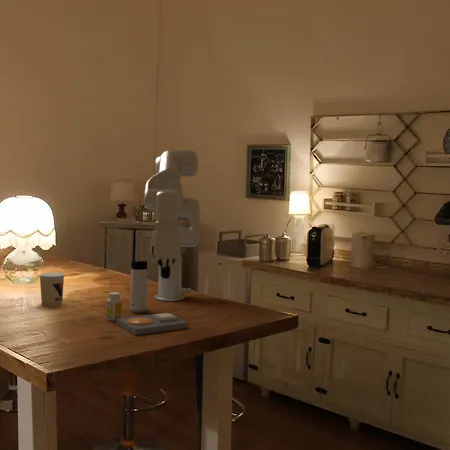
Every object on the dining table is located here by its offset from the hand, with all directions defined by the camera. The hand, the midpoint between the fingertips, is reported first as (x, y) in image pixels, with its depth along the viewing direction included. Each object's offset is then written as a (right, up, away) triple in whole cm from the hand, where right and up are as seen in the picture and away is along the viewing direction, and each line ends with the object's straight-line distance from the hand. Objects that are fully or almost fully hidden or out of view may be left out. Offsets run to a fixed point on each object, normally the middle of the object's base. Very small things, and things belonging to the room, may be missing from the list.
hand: (165, 277), depth 230 cm
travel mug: (-12, -15, +20) cm, 28 cm away
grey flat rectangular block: (-5, -17, -1) cm, 18 cm away
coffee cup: (-47, -13, +27) cm, 56 cm away
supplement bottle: (-19, -16, +7) cm, 26 cm away
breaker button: (0, -16, +2) cm, 16 cm away
